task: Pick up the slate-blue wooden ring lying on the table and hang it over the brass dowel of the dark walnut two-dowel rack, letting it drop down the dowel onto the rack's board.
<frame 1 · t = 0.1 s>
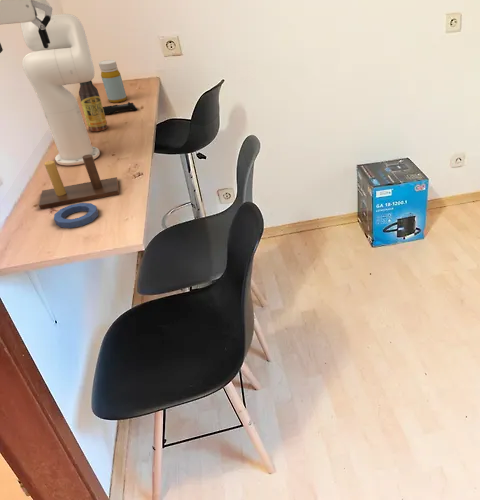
hand: (23, 49, 119), 37 cm above the table, tool pointing down, fingers open, 9 cm apart
rack: (81, 194, 137), on the table
sauce bottle: (99, 129, 178), on the table
bottle: (118, 100, 205), on the table
electric trimmer: (116, 113, 192), on the table
ring: (77, 217, 127), on the table
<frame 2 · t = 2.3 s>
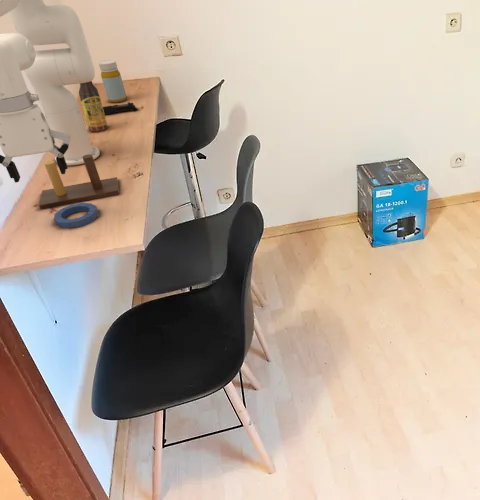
hand: (41, 176, 118), 12 cm above the table, tool pointing down, fingers open, 9 cm apart
nothing on the table moved.
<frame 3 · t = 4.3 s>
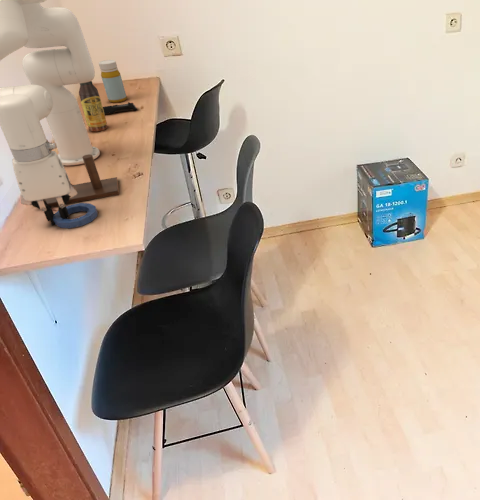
hand: (59, 220, 125), 0 cm above the table, tool pointing down, fingers closed on ring, 2 cm apart
ring: (76, 218, 127), on the table, touching gripper
everything else where it was.
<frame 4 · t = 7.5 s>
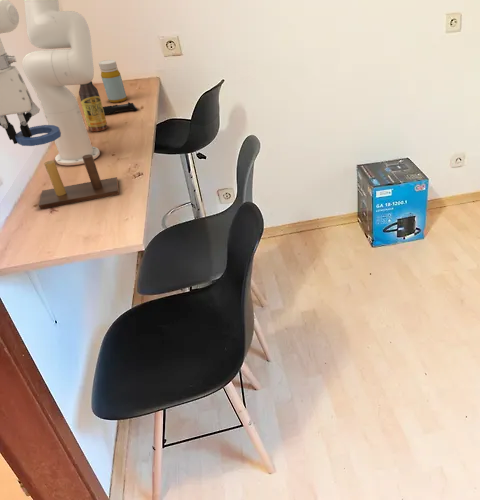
hand: (22, 140, 125), 17 cm above the table, tool pointing down, fingers closed on ring
ring: (39, 138, 126), point 17 cm above the table, touching gripper
everything else where it was.
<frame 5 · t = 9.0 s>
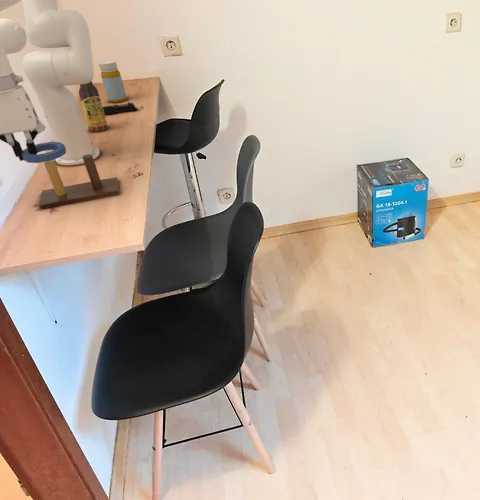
hand: (28, 157, 127), 12 cm above the table, tool pointing down, fingers closed on ring
ring: (45, 155, 129), point 12 cm above the table, touching gripper
everything else where it was.
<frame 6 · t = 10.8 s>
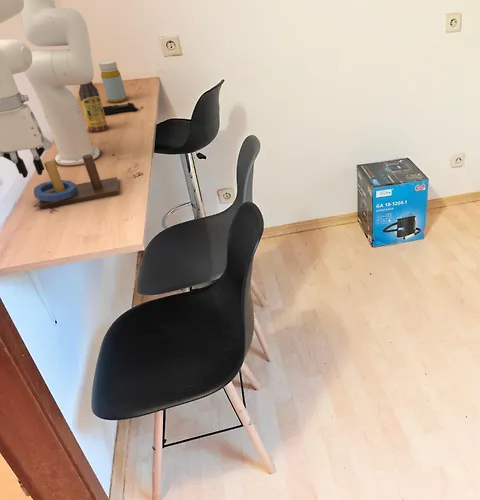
hand: (33, 173, 130), 8 cm above the table, tool pointing down, fingers closed
ring: (56, 193, 134), point 2 cm above the table, tilted 6°
everything else where it was.
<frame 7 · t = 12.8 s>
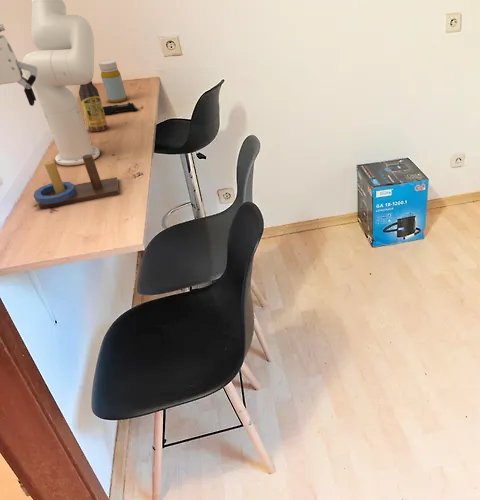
hand: (10, 107, 124), 24 cm above the table, tool pointing down, fingers open, 9 cm apart
ring: (56, 195, 134), point 1 cm above the table, touching rack
everything else where it was.
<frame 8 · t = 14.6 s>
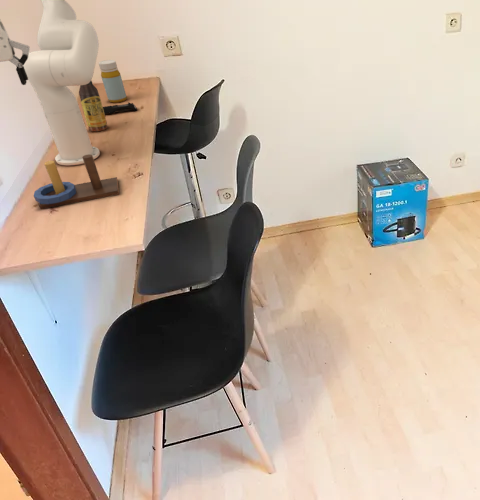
hand: (2, 86, 124), 28 cm above the table, tool pointing down, fingers open, 9 cm apart
nothing on the table moved.
at the end: ring 1.3 cm from the target spot on the rack, point 1.2 cm above the rack's base; ring tilted 0°; the gripper is holding nothing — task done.
